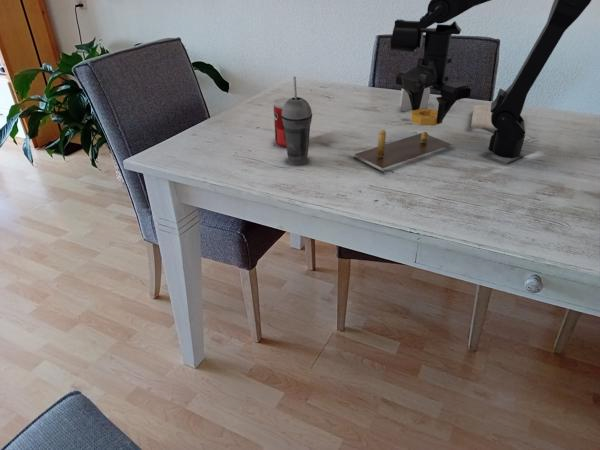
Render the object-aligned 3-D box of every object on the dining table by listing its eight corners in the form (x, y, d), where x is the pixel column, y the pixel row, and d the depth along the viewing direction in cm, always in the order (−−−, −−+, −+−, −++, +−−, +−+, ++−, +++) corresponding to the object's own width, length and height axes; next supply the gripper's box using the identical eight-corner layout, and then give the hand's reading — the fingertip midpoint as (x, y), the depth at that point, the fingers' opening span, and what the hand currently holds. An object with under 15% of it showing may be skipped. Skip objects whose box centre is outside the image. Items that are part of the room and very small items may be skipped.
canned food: (285, 135, 125) (283, 95, 119) (310, 140, 122) (309, 100, 116) (269, 144, 120) (267, 103, 114) (295, 150, 116) (294, 108, 110)
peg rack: (451, 148, 116) (456, 118, 111) (382, 173, 104) (385, 140, 100) (421, 136, 123) (425, 107, 118) (353, 158, 111) (355, 127, 107)
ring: (448, 121, 112) (449, 114, 111) (427, 127, 109) (428, 120, 108) (425, 113, 117) (426, 106, 116) (405, 119, 114) (405, 112, 113)
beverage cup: (286, 169, 107) (283, 83, 96) (279, 157, 113) (276, 75, 102) (316, 165, 109) (316, 80, 98) (307, 153, 114) (307, 72, 104)
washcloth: (514, 115, 136) (517, 105, 134) (515, 136, 122) (518, 125, 120) (473, 111, 139) (475, 101, 138) (469, 131, 125) (471, 120, 124)
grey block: (422, 99, 148) (427, 70, 141) (425, 117, 141) (431, 88, 134) (397, 99, 149) (401, 70, 142) (399, 116, 142) (403, 87, 135)
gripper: (382, 51, 107) (376, 115, 116) (444, 66, 94) (433, 137, 103) (415, 45, 112) (408, 107, 121) (478, 58, 99) (465, 127, 108)
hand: (426, 118), depth 113 cm, fingers closed on ring, 7 cm apart
